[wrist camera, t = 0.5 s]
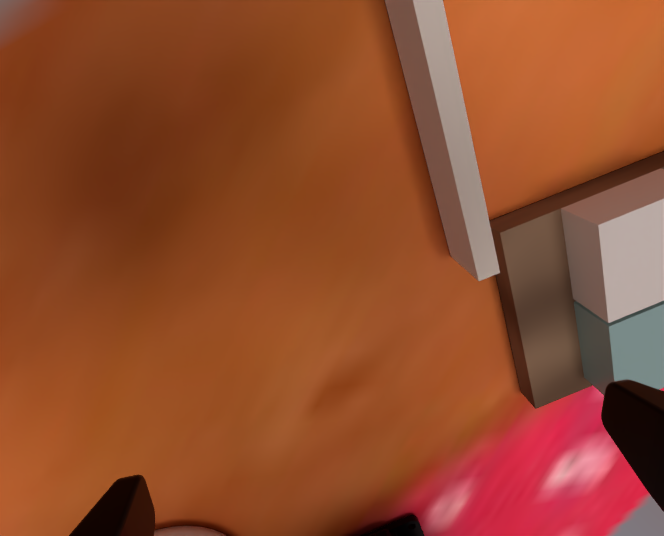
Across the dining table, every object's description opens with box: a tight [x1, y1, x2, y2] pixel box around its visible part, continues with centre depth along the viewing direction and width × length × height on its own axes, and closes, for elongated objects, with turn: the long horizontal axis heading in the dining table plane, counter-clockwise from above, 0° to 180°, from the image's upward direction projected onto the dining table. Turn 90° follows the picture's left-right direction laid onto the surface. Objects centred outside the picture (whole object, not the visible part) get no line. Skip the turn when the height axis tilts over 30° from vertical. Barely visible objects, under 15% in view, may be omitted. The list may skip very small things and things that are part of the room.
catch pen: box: [385, 0, 500, 281], centre depth 19 cm, size 15×15×3 cm
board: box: [489, 151, 664, 409], centre depth 25 cm, size 11×11×2 cm
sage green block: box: [574, 301, 664, 395], centre depth 24 cm, size 5×5×2 cm
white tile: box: [561, 168, 664, 323], centre depth 22 cm, size 5×5×2 cm
